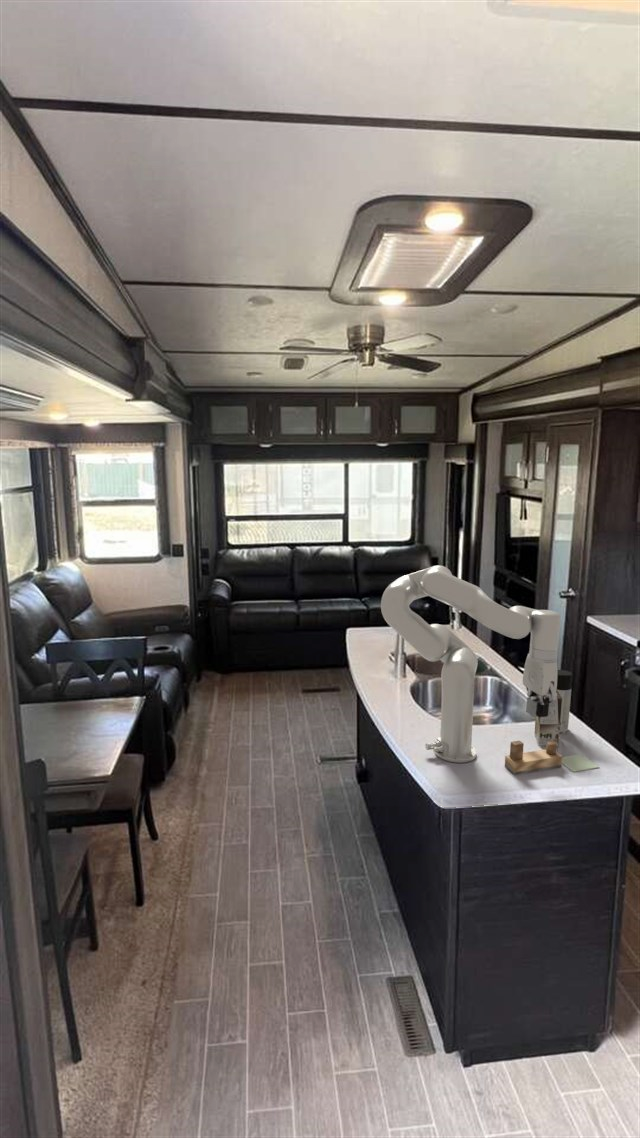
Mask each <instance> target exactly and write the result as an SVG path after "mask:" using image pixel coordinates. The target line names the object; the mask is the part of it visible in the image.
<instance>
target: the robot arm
mask: <svg viewBox="0 0 640 1138" xmlns="http://www.w3.org/2000/svg"><path fill="white" fill-rule="evenodd" d="M426 597H430V598H432V599H435V600H437V601H439V602H441V603H443V604H445V605H448V606H450V607H452V608H455V609H456V610H459V611H460V612H461V611H462V612H463V613H465V614H467V615H468V616H469V617H471V618H472V619H474V620H475V621H477V622H478V623H480V624H481V625H483V626H485V627H486V628H487V629H490V630H492V631H494V632H496V633H498V634H500V635H503V636H504V637H508V638H511V639H513V640H514V639H516V640H521V639H523V638H526V637H527V636H528V635H529V634H530V641H529V651H528V653H527V656H526V659H525V663H524V667H523V668H524V669H523V676H522V685H523V686H524V687H525V689H526V691H527V692H526V693H527V694H526V695H527V697H531V696H537V695H540V704H538V715H537V716H538V717H547V716H548V710H549V704H551V702H552V701H554V700H557V696H556V689H557V670H558V662H557V658H558V651H559V649H558V648H559V638H560V629H561V621H562V620H561V615H560V614H559V612H556V611H554V610H549V609H536V608H531V607H527V606H523V605H514V606H511V607H509V608H507V607H505V606H503V605H501V604H499V603H497V602H496V601H494V600H493V599H491V598H490V597H489V596H488V595H487V594H486V593H485V592H484V591H483V589H482V588H480V586H477V585H475V584H473V583H471V582H468V581H465V580H463V578H462V579H461V578H459V577H458V576H457V577H456V576H455V575H453V574H452V571H451V570H450V569H449V568H447V567H446V566H444V565H440V564H439V565H432V566H429V567H428V568H427V567H426V568H424V569H422V570H418V571H416V572H411V573H409V574H406V575H402V576H400V577H398V578H397V579H395V580H394V581H392V582H391V583H389V584H388V586H387V587H386V588H385V590H384V591H383V594H382V596H381V601H380V610H381V614H382V617H383V619H384V621H385V622H386V623H387V625H388V626H389V627H390V628H391V629H392V630H393V631H395V633H397V634H398V636H400V637H401V638H402V639H403V640H404V641H405V642H407V644H408V645H410V646H411V647H412V648H413V649H414V650H415V652H417V654H419V655H420V656H421V657H422V658H423V659H425V660H426V661H429V662H438V661H440V662H442V663H443V665H442V668H441V673H440V674H441V675H440V676H441V677H440V678H441V679H440V680H441V704H440V705H441V708H440V709H441V710H440V733H439V734H440V736H439V737H437V738H436V741H434V742H429V743H425V750H426V751H430V750H432V751H433V753H435V755H436V756H437V757H438V758H439V759H441V760H444V761H447V762H450V763H456V764H457V763H459V764H461V763H462V764H463V763H468V762H472V761H474V760H475V759H476V758H477V750H476V748H475V747H474V746H473V745H472V743H473V721H474V720H473V718H474V699H475V697H474V696H475V692H474V691H475V677H476V673H477V669H478V663H479V662H478V657H477V655H476V653H475V652H474V651H473V649H471V647H469V646H468V644H466V643H465V642H464V641H463V640H462V639H461V638H460V637H459V636H458V635H456V634H455V633H454V632H453V631H452V630H451V629H449V628H448V626H447V627H446V626H445V625H443V624H439V623H431V624H429V623H428V622H427V621H426V620H424V618H422V617H421V616H420V615H419V614H417V613H416V612H415V611H413V610H412V609H411V608H410V605H411V604H412V603H413V602H414V601H415V600H419V599H422V598H426ZM544 696H546V697H547V698H545V699H544Z"/></svg>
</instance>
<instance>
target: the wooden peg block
mask: <svg viewBox="0 0 640 1138" xmlns="http://www.w3.org/2000/svg"><path fill="white" fill-rule="evenodd" d="M509 746H510V749H509V754H506V755H505V757H504V768H506V769H507V770H508V771H510V772H511V774H513V775H514V776H516V775H521V774H523V775H524V774H527V773H528V774H529V773H533V772H534V773H535V772H539V771H546V770H551V769H552V770H553V769H557V768H562V766H563V764H562V757H563V755H561V754H560V752H557V744H556V743H555V742H547V746H546V748H545V749H540V750H538V749H537V750H535V751H528V752H527V751H526V752H524V742H522V741H521V740H515V741H514V740H513V741H510V745H509Z"/></svg>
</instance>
